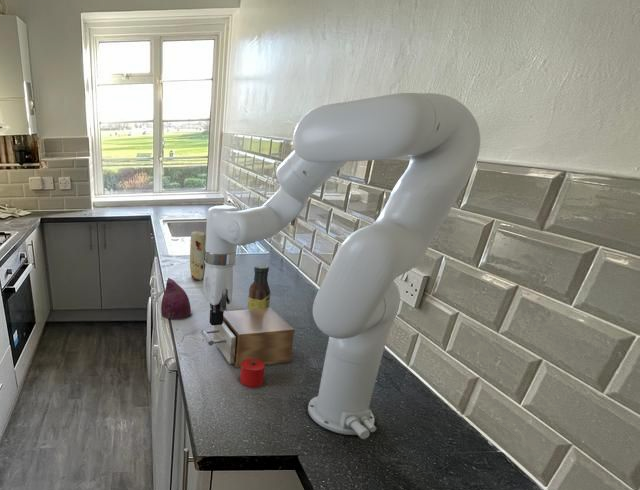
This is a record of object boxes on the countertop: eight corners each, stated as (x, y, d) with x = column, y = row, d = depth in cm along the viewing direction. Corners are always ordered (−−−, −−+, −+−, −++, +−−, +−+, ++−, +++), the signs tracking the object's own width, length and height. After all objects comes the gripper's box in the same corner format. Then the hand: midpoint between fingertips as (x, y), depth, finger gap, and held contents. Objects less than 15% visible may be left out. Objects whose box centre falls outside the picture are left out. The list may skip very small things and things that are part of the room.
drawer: (211, 365, 104) (212, 339, 101) (197, 342, 116) (198, 317, 113) (279, 359, 106) (282, 332, 102) (258, 336, 118) (260, 311, 115)
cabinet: (236, 367, 105) (239, 334, 101) (218, 341, 118) (220, 311, 114) (290, 362, 106) (294, 329, 102) (266, 337, 119) (269, 307, 115)
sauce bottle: (267, 332, 122) (274, 270, 113) (246, 331, 123) (252, 269, 115) (265, 323, 127) (272, 263, 119) (245, 322, 129) (250, 263, 120)
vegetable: (168, 329, 134) (159, 292, 125) (158, 314, 142) (149, 278, 134) (197, 318, 135) (190, 281, 126) (185, 303, 143) (177, 267, 135)
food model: (186, 275, 174) (187, 229, 166) (201, 274, 175) (203, 228, 166) (192, 282, 165) (193, 234, 157) (208, 281, 166) (210, 233, 157)
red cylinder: (266, 386, 96) (268, 366, 94) (244, 388, 96) (246, 368, 94) (257, 374, 101) (259, 354, 99) (236, 376, 101) (238, 357, 99)
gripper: (197, 250, 106) (194, 313, 114) (214, 267, 92) (210, 337, 100) (224, 248, 106) (220, 311, 114) (246, 265, 93) (239, 335, 101)
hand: (216, 323), depth 107 cm, fingers closed
